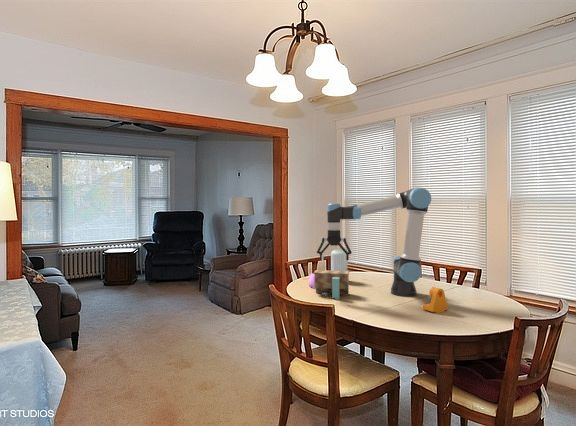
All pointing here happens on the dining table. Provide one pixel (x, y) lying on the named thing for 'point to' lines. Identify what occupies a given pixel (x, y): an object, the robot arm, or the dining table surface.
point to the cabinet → (325, 281)
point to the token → (325, 293)
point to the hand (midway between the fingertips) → (334, 265)
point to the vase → (338, 260)
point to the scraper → (336, 287)
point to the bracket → (436, 301)
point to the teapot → (312, 281)
